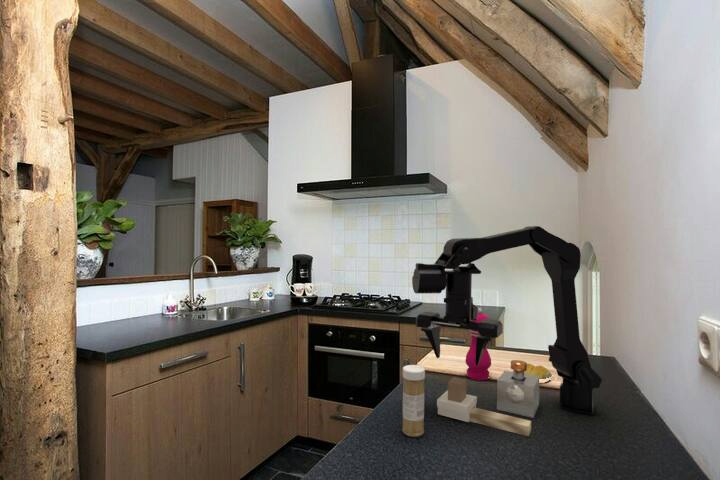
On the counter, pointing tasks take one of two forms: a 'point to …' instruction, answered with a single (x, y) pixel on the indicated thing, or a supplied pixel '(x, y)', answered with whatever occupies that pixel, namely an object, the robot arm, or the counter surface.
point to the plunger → (518, 369)
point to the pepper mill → (485, 362)
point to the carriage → (456, 401)
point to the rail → (500, 421)
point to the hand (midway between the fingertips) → (457, 361)
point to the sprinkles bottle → (413, 400)
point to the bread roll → (538, 371)
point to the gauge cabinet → (518, 394)
